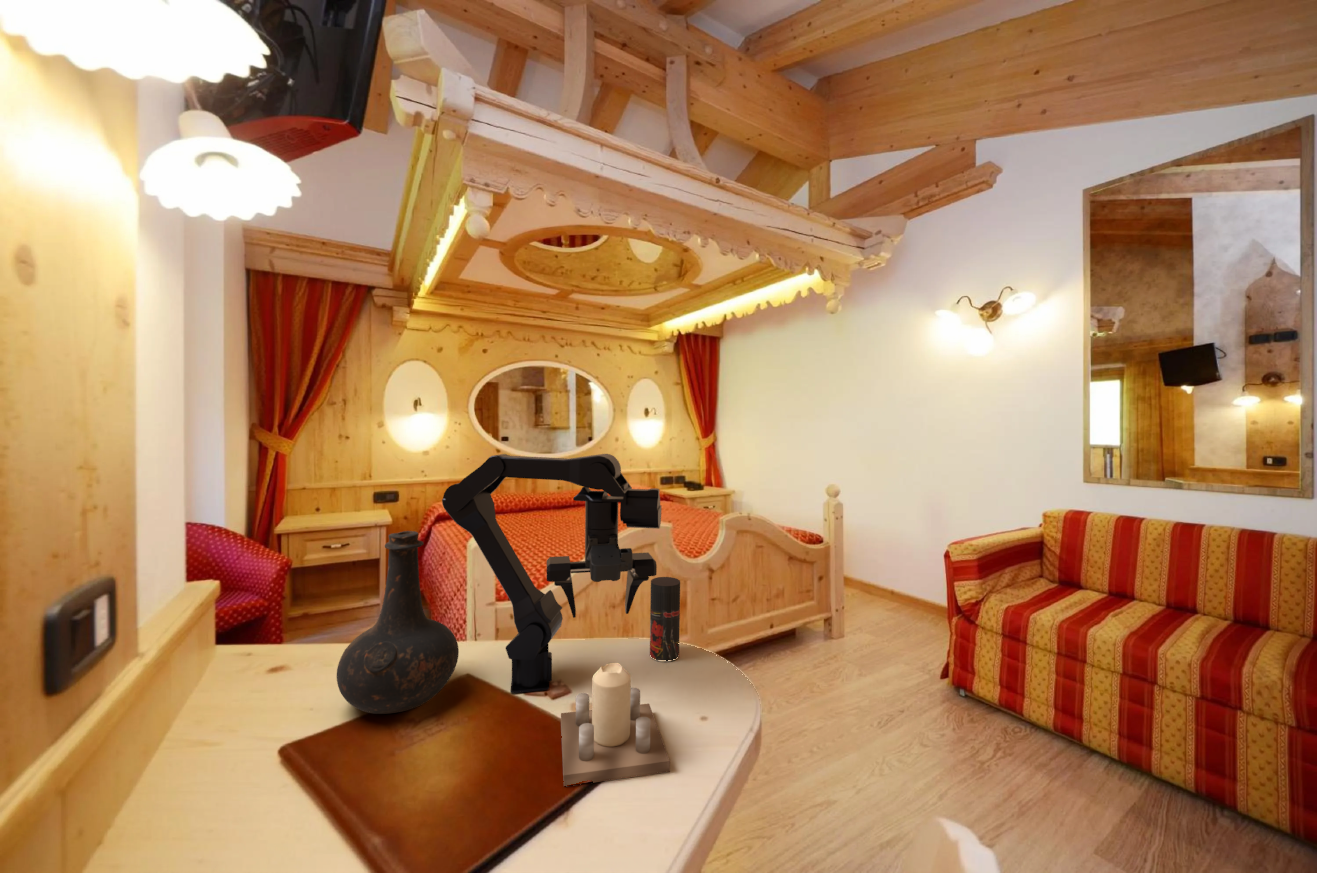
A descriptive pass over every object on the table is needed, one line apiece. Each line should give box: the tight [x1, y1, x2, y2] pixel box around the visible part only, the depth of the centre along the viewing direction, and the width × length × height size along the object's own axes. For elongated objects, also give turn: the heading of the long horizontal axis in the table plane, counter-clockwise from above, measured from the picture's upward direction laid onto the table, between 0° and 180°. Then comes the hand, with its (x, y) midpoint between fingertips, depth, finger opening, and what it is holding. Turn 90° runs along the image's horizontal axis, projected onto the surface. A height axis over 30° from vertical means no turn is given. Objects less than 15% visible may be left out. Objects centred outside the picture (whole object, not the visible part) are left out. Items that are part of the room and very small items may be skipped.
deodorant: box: [649, 576, 681, 661], centre depth 101 cm, size 6×6×15 cm
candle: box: [591, 662, 632, 747], centre depth 73 cm, size 6×6×10 cm
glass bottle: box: [336, 530, 460, 715], centre depth 84 cm, size 18×18×28 cm
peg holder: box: [560, 687, 671, 787], centre depth 73 cm, size 14×14×6 cm
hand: (600, 615), depth 88 cm, fingers open, 9 cm apart
